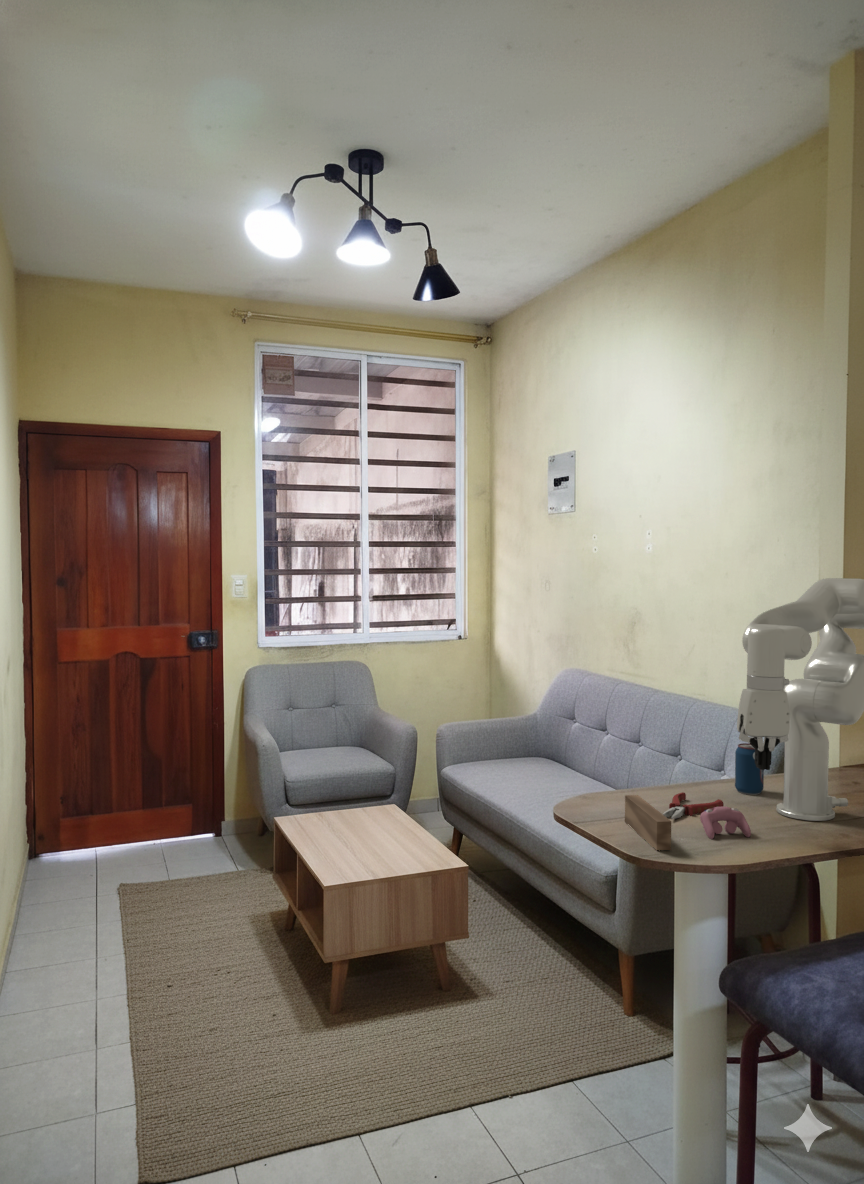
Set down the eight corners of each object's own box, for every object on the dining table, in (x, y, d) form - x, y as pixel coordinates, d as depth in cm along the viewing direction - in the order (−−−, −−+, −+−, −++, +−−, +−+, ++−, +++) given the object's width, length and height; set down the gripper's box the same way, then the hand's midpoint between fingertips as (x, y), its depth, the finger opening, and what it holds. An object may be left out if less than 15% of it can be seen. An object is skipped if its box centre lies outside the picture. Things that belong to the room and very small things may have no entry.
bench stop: (637, 821, 193) (638, 795, 193) (670, 850, 173) (671, 821, 173) (624, 821, 193) (625, 795, 193) (656, 851, 173) (657, 821, 173)
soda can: (768, 795, 217) (769, 748, 216) (741, 795, 216) (742, 748, 216) (756, 788, 224) (756, 742, 223) (730, 788, 223) (731, 742, 223)
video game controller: (744, 839, 186) (737, 807, 189) (754, 836, 182) (747, 803, 185) (701, 841, 184) (695, 809, 187) (710, 838, 180) (704, 804, 183)
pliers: (642, 817, 198) (642, 806, 198) (680, 800, 213) (680, 790, 213) (689, 828, 190) (689, 816, 190) (725, 809, 206) (725, 799, 205)
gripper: (789, 682, 189) (786, 764, 190) (724, 681, 188) (722, 764, 188) (807, 686, 182) (804, 772, 182) (739, 686, 180) (737, 772, 181)
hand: (762, 768), depth 185 cm, fingers closed
